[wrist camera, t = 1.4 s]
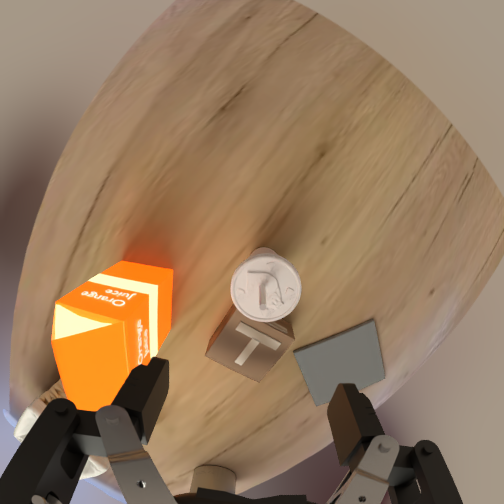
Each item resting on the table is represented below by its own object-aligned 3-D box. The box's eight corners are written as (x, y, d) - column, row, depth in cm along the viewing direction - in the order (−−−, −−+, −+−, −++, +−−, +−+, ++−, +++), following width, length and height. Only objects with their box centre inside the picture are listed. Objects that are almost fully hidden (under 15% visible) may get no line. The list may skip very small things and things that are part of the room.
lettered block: (259, 365, 37) (259, 383, 33) (209, 339, 36) (204, 356, 32) (292, 323, 36) (296, 339, 31) (240, 293, 35) (237, 307, 31)
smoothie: (265, 224, 33) (271, 252, 19) (300, 263, 34) (327, 313, 20) (226, 260, 34) (206, 309, 20) (261, 296, 35) (264, 361, 21)
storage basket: (91, 442, 45) (68, 483, 31) (40, 397, 42) (10, 434, 28) (137, 416, 41) (110, 473, 27) (71, 356, 38) (27, 404, 24)
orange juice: (174, 269, 34) (93, 356, 15) (171, 329, 36) (113, 436, 17) (120, 259, 34) (17, 325, 14) (121, 318, 36) (43, 405, 16)
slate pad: (383, 376, 38) (385, 378, 37) (315, 404, 39) (316, 406, 38) (372, 318, 35) (374, 320, 35) (293, 351, 36) (293, 353, 36)
